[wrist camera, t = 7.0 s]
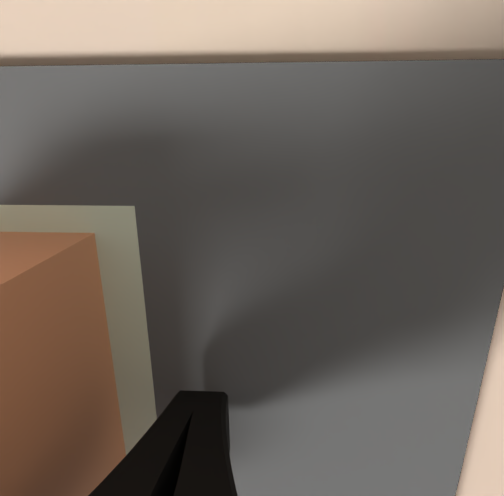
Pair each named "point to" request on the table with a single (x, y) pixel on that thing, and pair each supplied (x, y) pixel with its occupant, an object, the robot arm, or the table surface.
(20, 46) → the table surface
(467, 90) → the mat
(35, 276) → the t block
